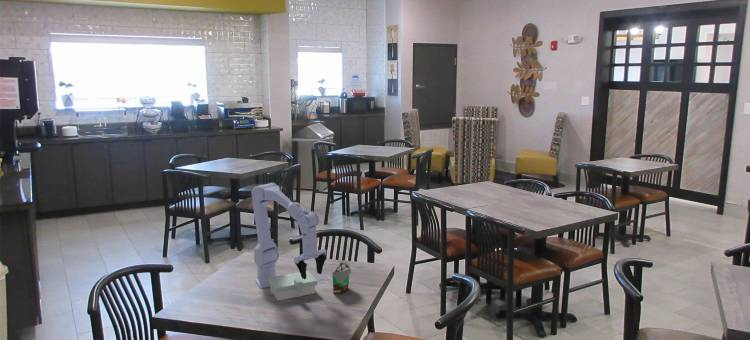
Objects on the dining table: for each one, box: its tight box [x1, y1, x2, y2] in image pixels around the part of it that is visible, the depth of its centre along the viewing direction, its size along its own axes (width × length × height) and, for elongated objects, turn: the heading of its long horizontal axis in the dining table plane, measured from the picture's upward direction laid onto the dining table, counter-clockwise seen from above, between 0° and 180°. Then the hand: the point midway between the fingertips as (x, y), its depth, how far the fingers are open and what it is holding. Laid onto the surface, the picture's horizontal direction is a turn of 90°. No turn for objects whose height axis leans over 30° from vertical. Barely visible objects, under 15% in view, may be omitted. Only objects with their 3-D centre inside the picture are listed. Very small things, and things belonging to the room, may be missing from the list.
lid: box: [268, 270, 318, 293], centre depth 219 cm, size 15×18×4 cm
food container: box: [331, 262, 352, 295], centre depth 224 cm, size 12×6×10 cm, turn 168°
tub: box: [269, 285, 316, 301], centre depth 222 cm, size 10×16×5 cm, turn 117°
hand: (311, 275), depth 214 cm, fingers open, 7 cm apart
